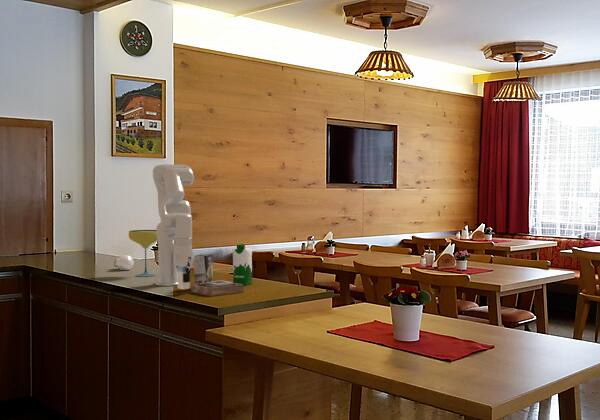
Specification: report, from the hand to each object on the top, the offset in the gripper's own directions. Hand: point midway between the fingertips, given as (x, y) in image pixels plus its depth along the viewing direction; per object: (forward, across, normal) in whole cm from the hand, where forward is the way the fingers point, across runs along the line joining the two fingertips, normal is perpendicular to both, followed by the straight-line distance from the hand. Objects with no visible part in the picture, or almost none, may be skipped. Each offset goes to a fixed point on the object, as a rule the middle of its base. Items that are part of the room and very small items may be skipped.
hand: (183, 281), depth 304 cm
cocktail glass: (+9, -72, +20) cm, 75 cm away
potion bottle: (+10, -107, +24) cm, 110 cm away
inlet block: (+6, +7, +15) cm, 17 cm away
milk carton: (+7, -6, +38) cm, 39 cm away
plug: (+3, 0, 0) cm, 3 cm away
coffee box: (+7, -9, +17) cm, 20 cm away
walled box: (+6, +7, +14) cm, 16 cm away
